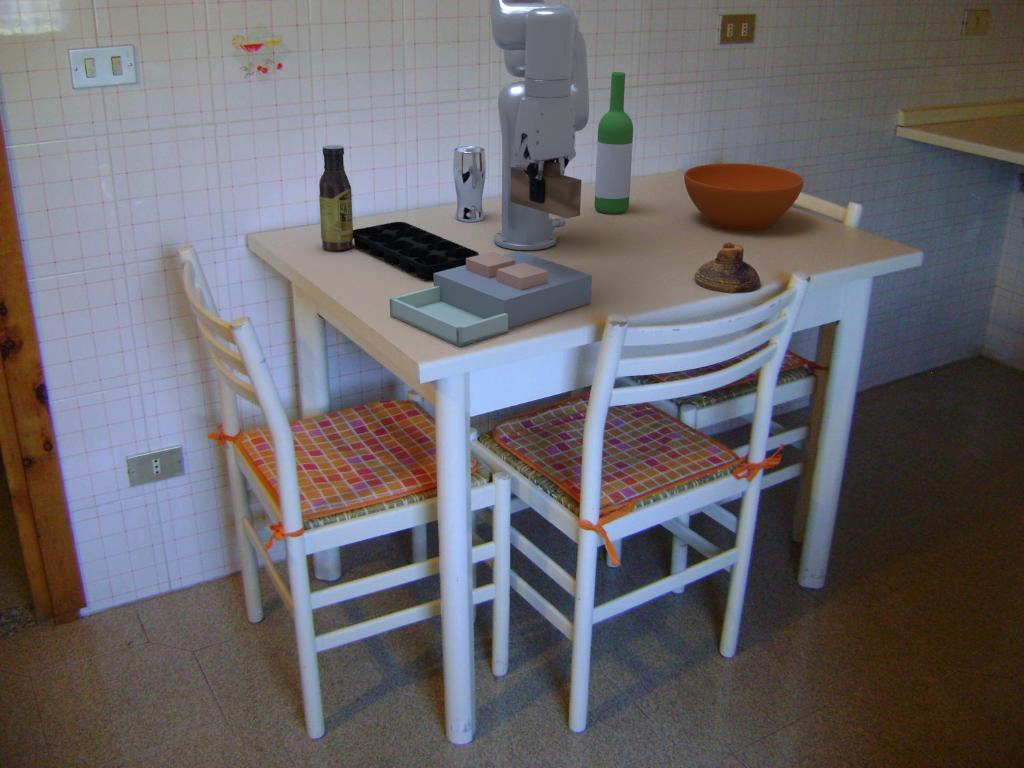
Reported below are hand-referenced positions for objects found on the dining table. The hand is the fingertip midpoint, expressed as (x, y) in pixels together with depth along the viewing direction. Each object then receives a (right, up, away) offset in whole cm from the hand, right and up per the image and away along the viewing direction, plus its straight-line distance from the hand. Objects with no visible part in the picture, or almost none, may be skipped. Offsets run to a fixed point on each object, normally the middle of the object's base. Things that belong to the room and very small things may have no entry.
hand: (544, 199), depth 180 cm
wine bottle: (+17, +8, +59) cm, 62 cm away
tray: (-16, -22, -7) cm, 28 cm away
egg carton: (-25, -8, +25) cm, 36 cm away
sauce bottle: (-40, -4, +31) cm, 51 cm away
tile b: (-4, -14, -3) cm, 15 cm away
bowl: (+44, +4, +52) cm, 69 cm away
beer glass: (-15, +5, +52) cm, 54 cm away
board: (-6, -17, +3) cm, 18 cm away
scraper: (0, -1, +1) cm, 2 cm away
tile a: (-9, -12, +2) cm, 15 cm away
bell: (+34, -13, +14) cm, 39 cm away
